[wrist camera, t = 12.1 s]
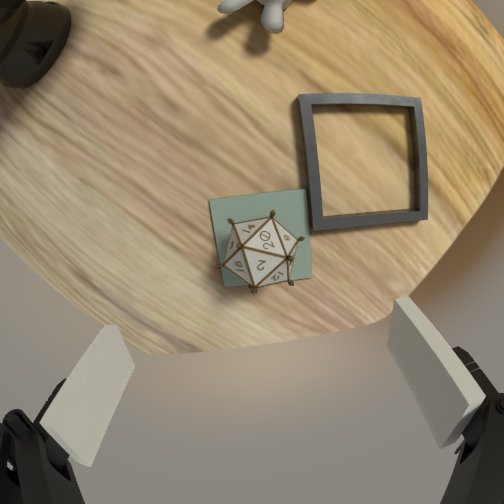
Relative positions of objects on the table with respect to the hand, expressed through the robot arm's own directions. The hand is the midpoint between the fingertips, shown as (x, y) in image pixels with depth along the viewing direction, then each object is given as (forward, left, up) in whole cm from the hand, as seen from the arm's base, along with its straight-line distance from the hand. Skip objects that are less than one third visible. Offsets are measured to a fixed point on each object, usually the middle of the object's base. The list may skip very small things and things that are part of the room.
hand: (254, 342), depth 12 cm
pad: (0, -2, -22) cm, 22 cm away
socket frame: (+14, +6, -22) cm, 27 cm away
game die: (0, -2, -22) cm, 22 cm away
